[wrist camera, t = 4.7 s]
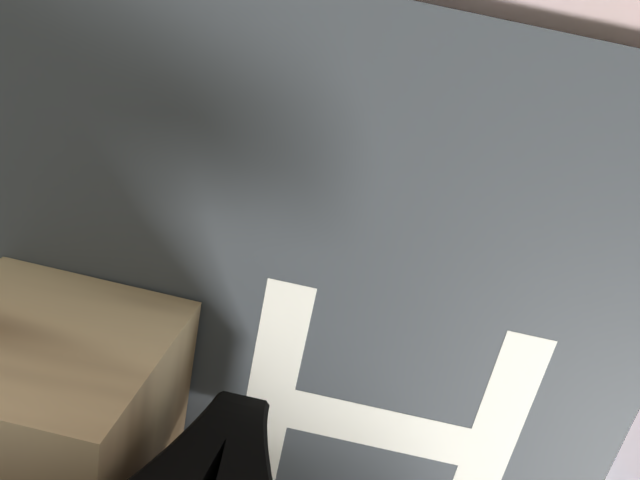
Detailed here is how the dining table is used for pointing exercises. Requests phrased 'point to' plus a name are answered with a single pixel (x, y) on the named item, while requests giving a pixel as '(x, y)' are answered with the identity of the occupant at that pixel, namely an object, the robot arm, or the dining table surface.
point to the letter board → (349, 217)
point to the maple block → (89, 373)
